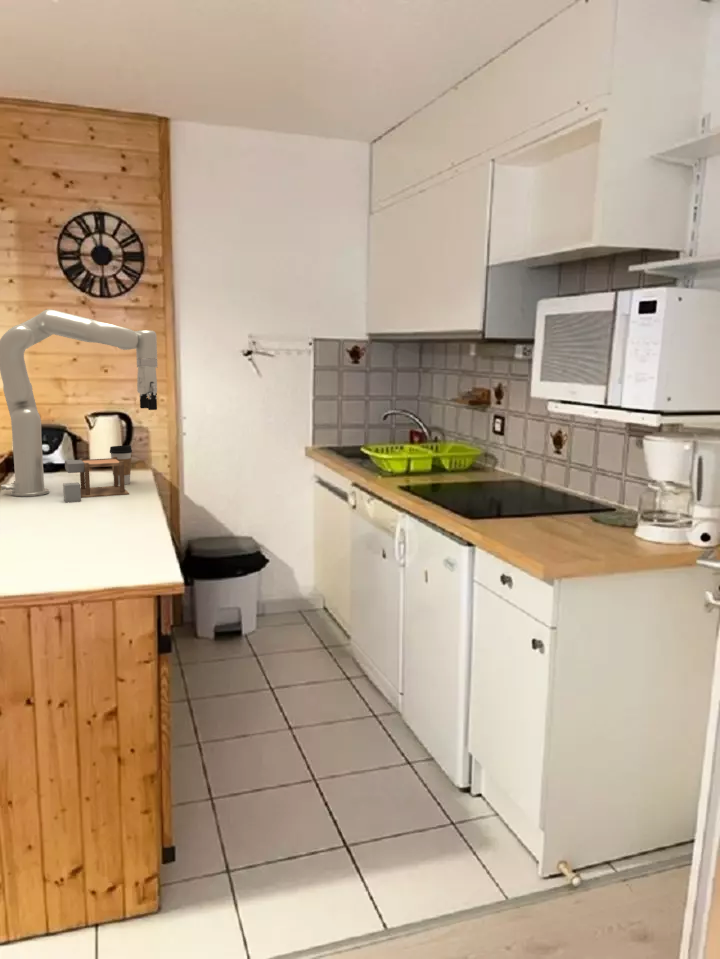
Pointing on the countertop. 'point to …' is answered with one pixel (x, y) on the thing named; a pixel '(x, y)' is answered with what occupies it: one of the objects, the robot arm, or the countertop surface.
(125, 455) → the coffee cup
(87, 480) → the frame
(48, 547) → the countertop surface
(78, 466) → the trapdoor
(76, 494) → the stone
